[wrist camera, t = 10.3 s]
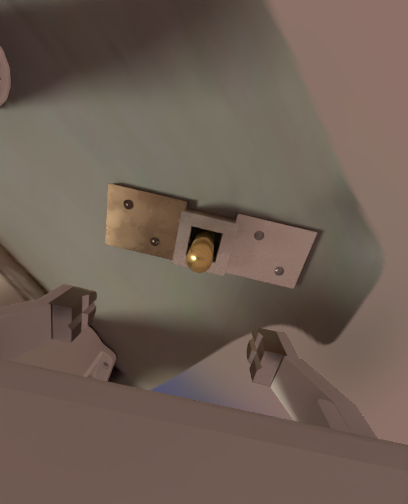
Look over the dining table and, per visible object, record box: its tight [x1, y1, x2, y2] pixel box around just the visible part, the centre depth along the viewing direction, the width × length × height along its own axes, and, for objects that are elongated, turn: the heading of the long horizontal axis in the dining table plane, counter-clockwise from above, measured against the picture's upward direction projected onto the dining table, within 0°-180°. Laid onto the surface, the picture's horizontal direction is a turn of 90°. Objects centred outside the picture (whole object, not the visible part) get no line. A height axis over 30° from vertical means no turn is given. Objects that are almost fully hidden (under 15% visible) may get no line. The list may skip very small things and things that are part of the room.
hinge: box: [105, 183, 317, 289], centre depth 24 cm, size 26×8×4 cm, turn 78°
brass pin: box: [186, 229, 215, 273], centre depth 21 cm, size 2×2×9 cm
